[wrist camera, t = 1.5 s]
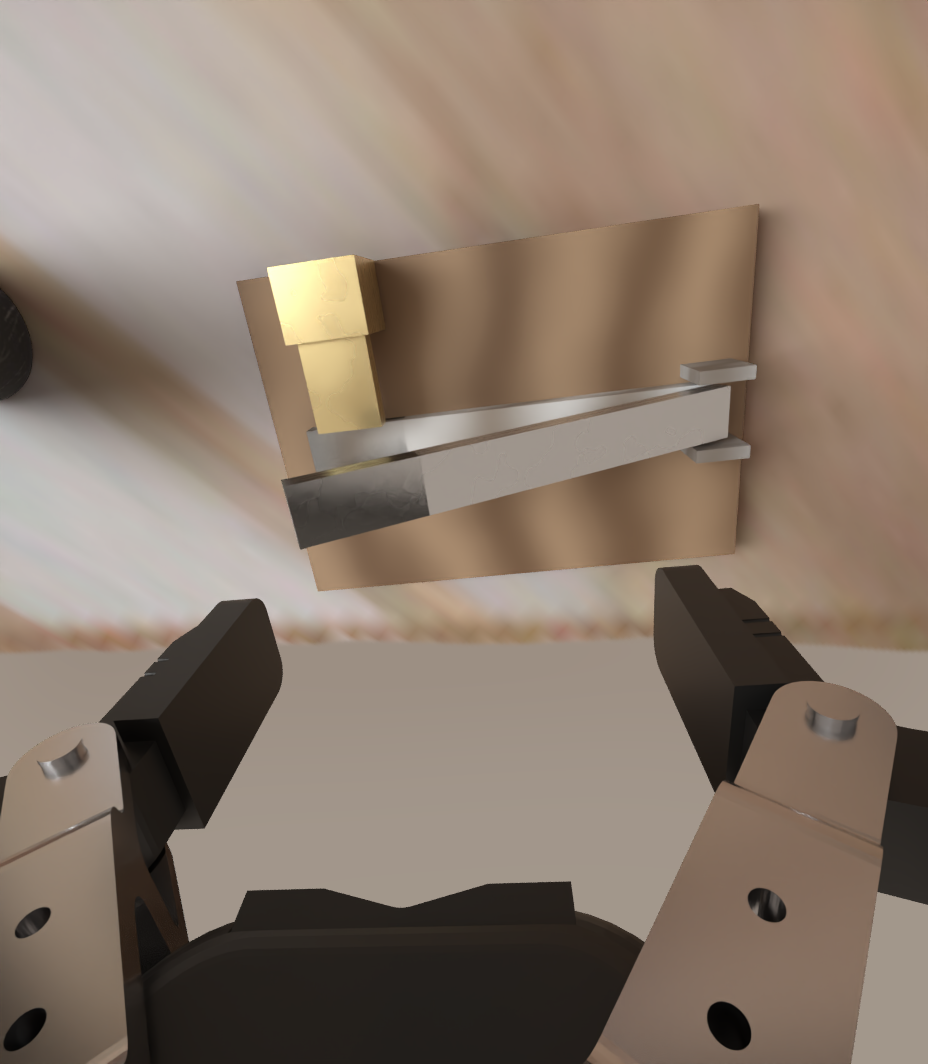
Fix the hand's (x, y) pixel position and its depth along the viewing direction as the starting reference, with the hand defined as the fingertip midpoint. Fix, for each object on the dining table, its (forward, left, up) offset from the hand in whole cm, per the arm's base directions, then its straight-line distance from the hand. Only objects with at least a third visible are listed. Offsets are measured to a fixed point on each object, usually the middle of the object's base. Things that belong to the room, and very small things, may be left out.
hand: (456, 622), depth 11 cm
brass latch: (+6, -5, -18) cm, 20 cm away
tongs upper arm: (-2, 0, -13) cm, 13 cm away
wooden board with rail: (-1, 0, -20) cm, 20 cm away
